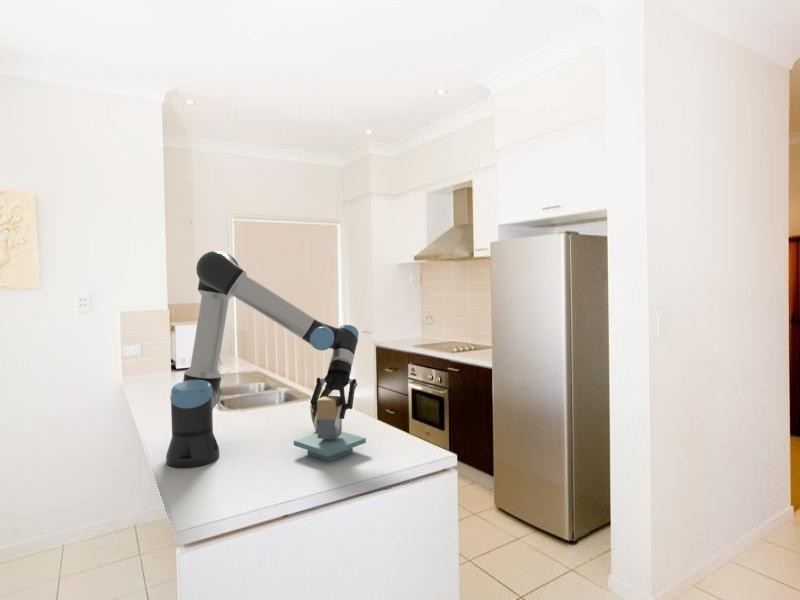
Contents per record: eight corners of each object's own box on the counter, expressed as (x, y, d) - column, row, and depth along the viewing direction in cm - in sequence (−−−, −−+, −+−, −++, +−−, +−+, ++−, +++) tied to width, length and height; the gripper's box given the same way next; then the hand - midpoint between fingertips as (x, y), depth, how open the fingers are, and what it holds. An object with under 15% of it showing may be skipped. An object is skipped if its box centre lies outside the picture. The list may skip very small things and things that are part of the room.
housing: (317, 438, 157) (317, 400, 156) (323, 432, 163) (323, 395, 162) (336, 439, 156) (335, 400, 155) (341, 433, 162) (341, 396, 161)
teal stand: (293, 454, 158) (293, 440, 158) (331, 441, 171) (331, 428, 171) (328, 466, 148) (328, 451, 148) (366, 452, 160) (365, 438, 160)
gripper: (370, 372, 172) (358, 434, 157) (316, 370, 175) (300, 431, 160) (366, 359, 166) (353, 422, 151) (311, 358, 170) (293, 419, 154)
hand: (326, 426), depth 156 cm, fingers closed on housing, 6 cm apart
